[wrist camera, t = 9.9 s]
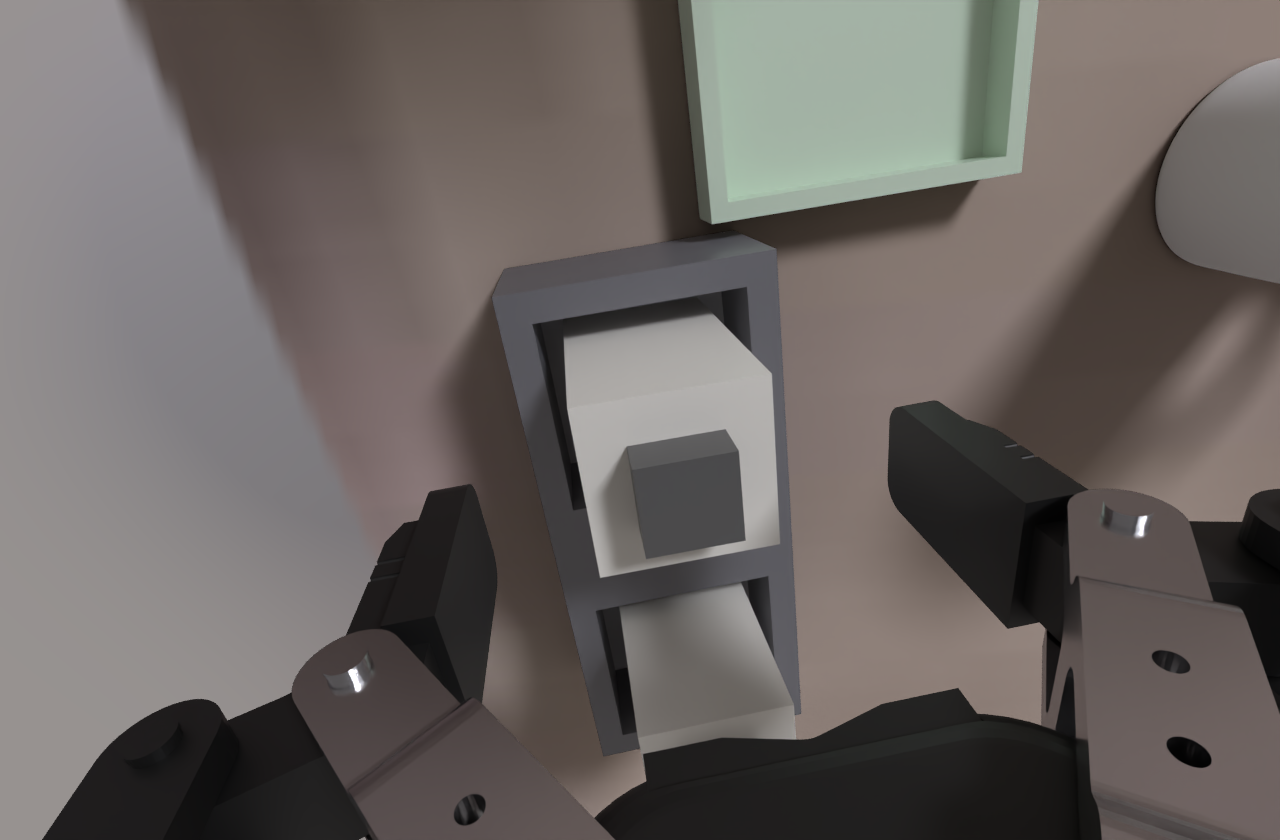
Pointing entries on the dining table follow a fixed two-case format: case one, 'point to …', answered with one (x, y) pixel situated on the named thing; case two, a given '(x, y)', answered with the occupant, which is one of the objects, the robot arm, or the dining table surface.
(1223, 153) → the mug
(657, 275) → the grey rectangular frame
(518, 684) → the dining table surface
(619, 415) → the plug
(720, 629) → the twin plug
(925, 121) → the tray
